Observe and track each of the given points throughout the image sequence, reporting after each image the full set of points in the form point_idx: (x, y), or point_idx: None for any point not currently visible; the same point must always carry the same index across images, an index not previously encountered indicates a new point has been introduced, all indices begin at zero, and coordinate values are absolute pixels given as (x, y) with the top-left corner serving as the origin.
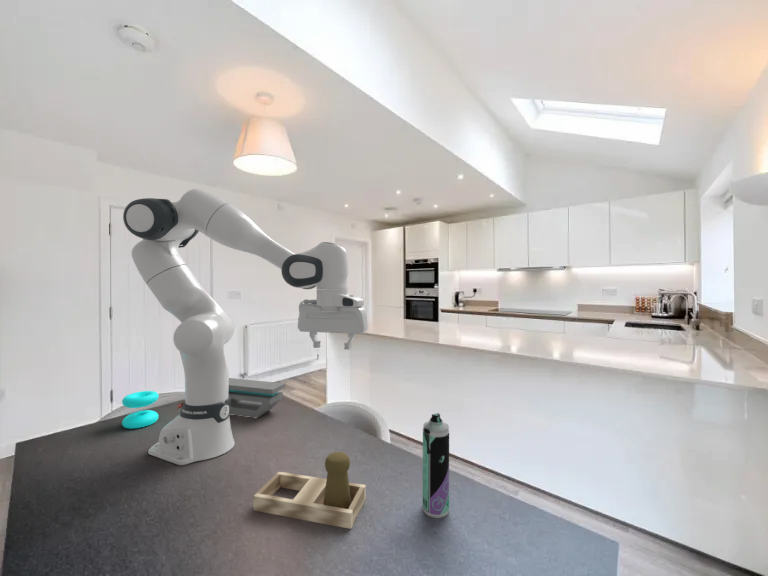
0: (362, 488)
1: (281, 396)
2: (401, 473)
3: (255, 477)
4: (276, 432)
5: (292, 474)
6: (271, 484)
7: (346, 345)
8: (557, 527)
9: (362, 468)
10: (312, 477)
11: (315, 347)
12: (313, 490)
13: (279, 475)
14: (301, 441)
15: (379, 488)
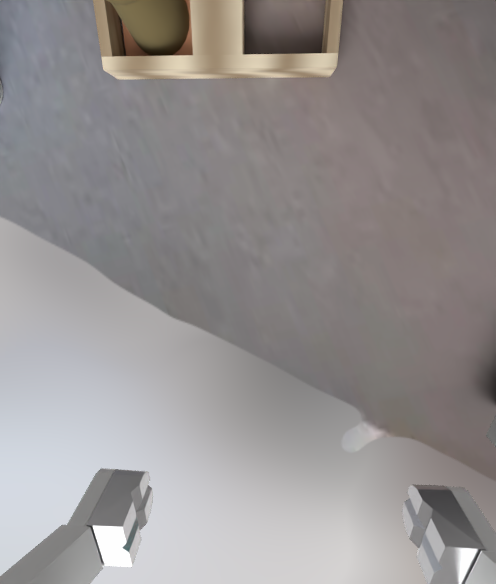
0: (103, 50)
1: (492, 435)
2: (87, 198)
3: (399, 89)
4: (435, 307)
5: (294, 62)
6: (330, 3)
7: (108, 502)
8: None
9: (171, 196)
10: (238, 63)
11: (440, 486)
12: (210, 2)
13: (327, 50)
14: (354, 278)
15: (107, 127)
